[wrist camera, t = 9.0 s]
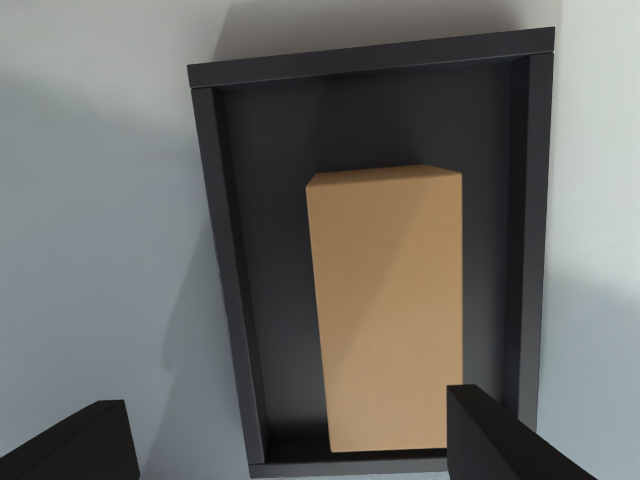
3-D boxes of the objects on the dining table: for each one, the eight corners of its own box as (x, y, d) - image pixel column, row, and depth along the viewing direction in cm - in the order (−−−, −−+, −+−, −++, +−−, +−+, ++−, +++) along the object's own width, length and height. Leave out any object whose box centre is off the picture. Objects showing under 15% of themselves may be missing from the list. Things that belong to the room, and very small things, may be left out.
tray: (513, 434, 19) (535, 468, 17) (258, 445, 20) (249, 479, 18) (526, 42, 15) (555, 26, 13) (205, 75, 16) (185, 64, 14)
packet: (429, 365, 18) (463, 447, 13) (332, 370, 18) (330, 453, 13) (424, 163, 16) (463, 171, 11) (314, 173, 16) (305, 185, 11)
